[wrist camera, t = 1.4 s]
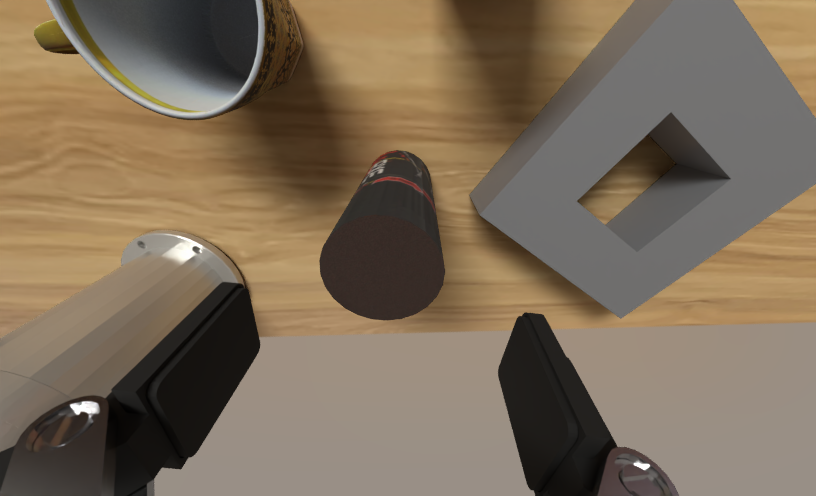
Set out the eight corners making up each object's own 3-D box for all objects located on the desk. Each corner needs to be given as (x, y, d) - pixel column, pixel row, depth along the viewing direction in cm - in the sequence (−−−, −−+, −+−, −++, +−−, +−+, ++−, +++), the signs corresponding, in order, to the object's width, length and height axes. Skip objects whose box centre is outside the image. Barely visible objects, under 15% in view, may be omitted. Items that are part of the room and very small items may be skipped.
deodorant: (395, 135, 25) (372, 186, 12) (444, 181, 27) (471, 270, 13) (354, 185, 27) (295, 275, 14) (401, 224, 29) (389, 337, 16)
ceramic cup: (296, -76, 19) (190, -221, 10) (342, 95, 23) (297, 98, 15) (123, -23, 20) (-101, -110, 11) (198, 127, 25) (80, 148, 16)
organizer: (592, 287, 32) (620, 318, 27) (469, 194, 27) (479, 215, 23) (769, 149, 25) (846, 162, 20) (642, -9, 20) (707, -37, 15)
